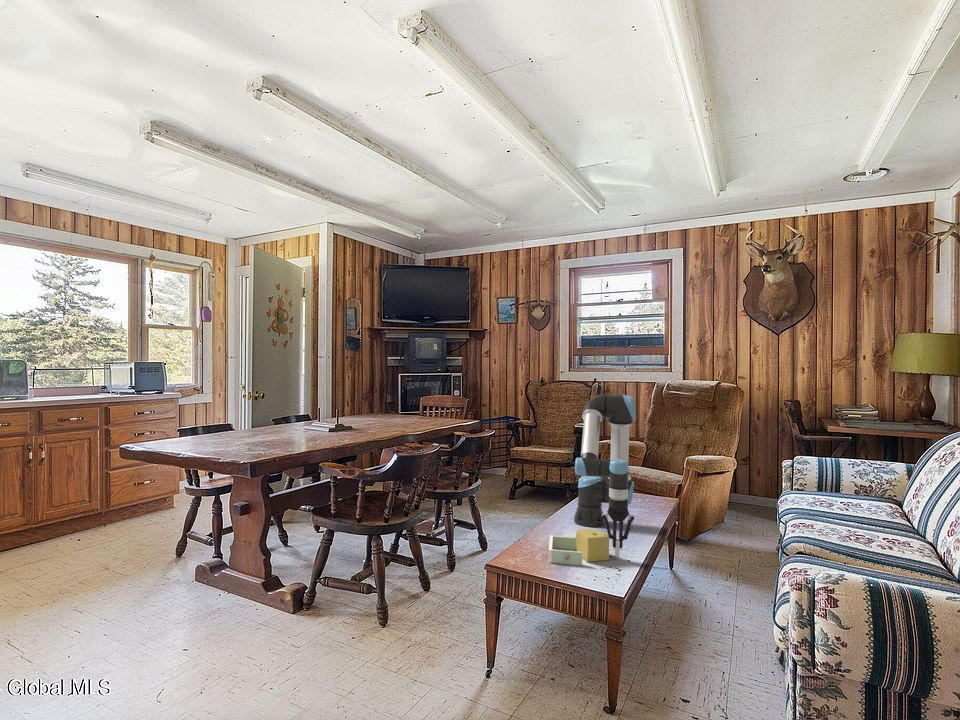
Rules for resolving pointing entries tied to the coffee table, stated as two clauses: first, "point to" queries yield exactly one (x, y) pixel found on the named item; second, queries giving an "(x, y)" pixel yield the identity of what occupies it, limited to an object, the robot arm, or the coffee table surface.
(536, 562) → the coffee table surface
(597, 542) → the cheese
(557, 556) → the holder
